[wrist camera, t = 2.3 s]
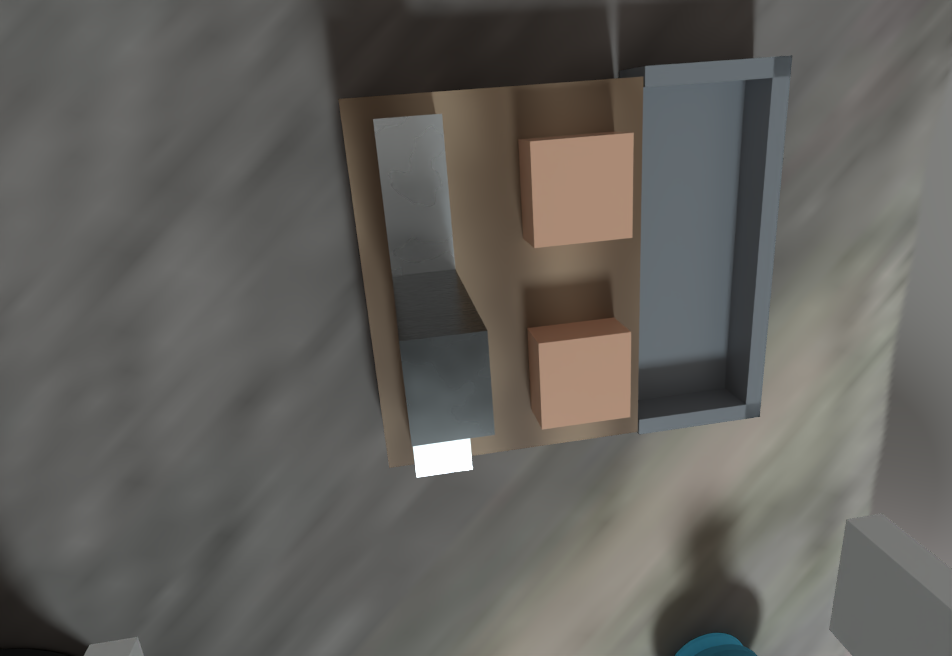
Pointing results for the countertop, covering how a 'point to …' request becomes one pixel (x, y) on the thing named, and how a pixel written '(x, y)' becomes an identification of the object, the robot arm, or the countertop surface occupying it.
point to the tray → (707, 236)
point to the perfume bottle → (715, 646)
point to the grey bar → (432, 299)
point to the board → (501, 243)
